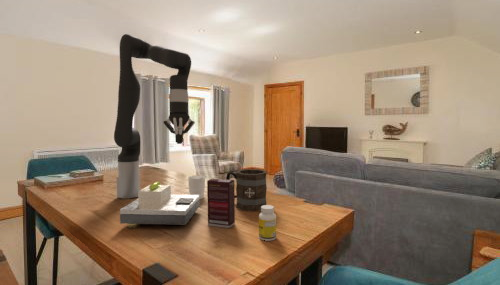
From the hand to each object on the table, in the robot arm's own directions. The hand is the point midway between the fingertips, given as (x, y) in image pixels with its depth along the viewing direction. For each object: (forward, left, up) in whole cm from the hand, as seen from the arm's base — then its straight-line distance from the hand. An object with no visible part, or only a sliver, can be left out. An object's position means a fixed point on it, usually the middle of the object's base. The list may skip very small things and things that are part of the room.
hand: (179, 143), depth 112 cm
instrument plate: (-2, -14, -22) cm, 26 cm away
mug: (+27, +5, -27) cm, 39 cm away
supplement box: (+20, -18, -27) cm, 38 cm away
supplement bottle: (+36, -28, -27) cm, 53 cm away
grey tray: (-2, -14, -27) cm, 30 cm away
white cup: (+3, +16, -27) cm, 32 cm away
